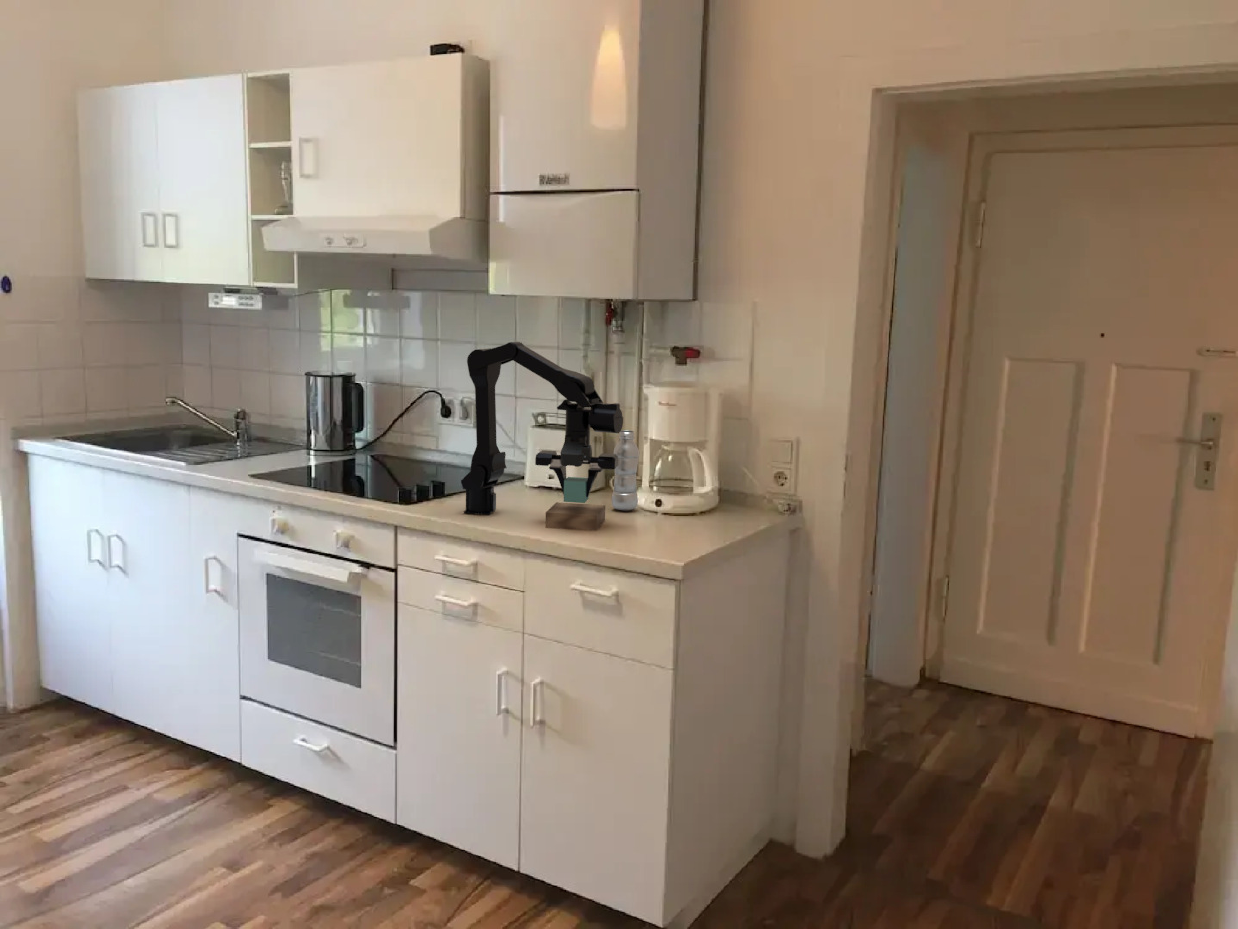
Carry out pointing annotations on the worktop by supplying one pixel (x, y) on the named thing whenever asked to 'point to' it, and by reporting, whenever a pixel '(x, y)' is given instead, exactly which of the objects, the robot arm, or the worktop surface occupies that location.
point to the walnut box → (575, 516)
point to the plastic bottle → (625, 472)
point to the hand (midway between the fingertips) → (576, 496)
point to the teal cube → (575, 490)
